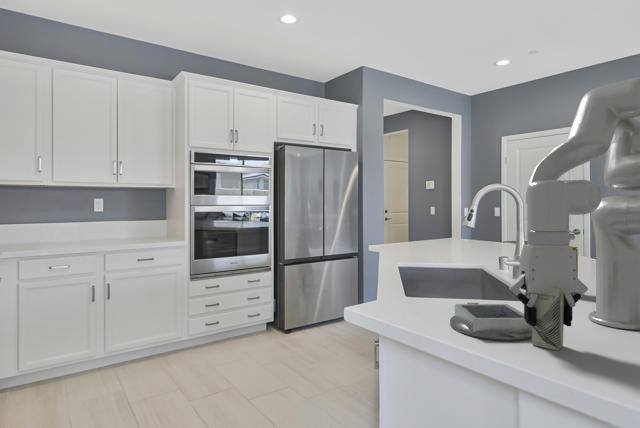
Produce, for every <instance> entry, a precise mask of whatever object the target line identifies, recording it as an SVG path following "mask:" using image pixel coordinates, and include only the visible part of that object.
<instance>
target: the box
mask: <svg viewBox="0 0 640 428" xmlns="http://www.w3.org/2000/svg"><path fill="white" fill-rule="evenodd" d="M534 307H535V308H536V326H532V338H531V344H532V345H533V346H536V347H541V348H544V349H545V348H546V349H549V350H553V351H559V350H560V349H562V347H563V346H564V294H562V288H550V290H549V293H548V294H538V296H537V299H536V301H535V303H534Z"/></svg>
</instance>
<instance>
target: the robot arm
mask: <svg viewBox="0 0 640 428" xmlns="http://www.w3.org/2000/svg"><path fill="white" fill-rule="evenodd" d="M638 117H640V76H638V77H634V78H629V79H626V80H622V81H618V82H614V83H613V82H612V83H608V84H605V85H602V86H598V87H595V88H592V89H591V90H588V91H587V92H586V93H585V94H584V95H583V96H582V98H581V100H580V102H579V105H578V107H577V110H576V112H575V115H574V118H573V121H572V122H571V126H570V129H569V131H568V134H567V137H566V139H565V140H564V141H563V142H561V143H560V144H559V145H557V146H556V147H554V148H553V149H552V150H551V151H550V152H549V153H548V154H547V155H546V156H545V157H544V158H542V160H540V161H539V163H538V164H537V165H536V167H535V168H534V170H533V173H532V174H531V178H530V180H529V182H528V185H527V188H526V192H525V203H526V209H527V210H526V212H527V213H526V222H527V223H526V227H527V228H526V229H527V233H526V234H527V235H526V240H527V244H523V246H522V250H521V253H520V256H519V257H520V258H519V266H518V278H516V279H515V280H514V281H513V282H512V283H511V284H510V285H509V286H508V290H509V291H510V292H511V293H512V294H513V295H514V296H515V297H516V298H517V299H518V301H520V302H521V303H522V304H523V314H524V319H525V320H526V323H528V324H529V325H531V326H536V308H535V307H534V303H535V301H536V299H537V296H538V294H548V293H549V290H550V288H562V294H564V324H563V326H564V325H565V326H566V327H572V321H573V308H574V307H576V304H577V303H578V302H579V301H580V299H581V298H582V296H583V295H584V294H585V293H587V292H588V290H589V287H588V286H586V285H585V284H584V283H583V282H582V281H581V280H580V278H577V271H576V263H575V257H574V253H573V249H572V247H573V246H571V245H570V243H571V241H574V240H575V238H576V236H575V233H571V232H570V216H571V215H573V216H574V215H575V216H576V215H577V216H578V215H583V216H584V215H588V214H590V217H591V222H592V223H591V224H592V227H593V233H594V240H595V310H594V311H591V312H589V313H588V319H589V320H590V321H592V322H594V323H595V324H596V323H597V324H598V325H602V326H607V327H611V328H616V329H623V330H632V331H633V330H634V331H636V330H637V331H640V243H639V242H638V241H637V240H636V239H635V237H634V236H640V194H638V195H637V194H633V195H631V194H627V195H611V196H605V197H603V194H602V190H601V189H600V187H599V185H597V183H595V182H593V181H591V180H587V179H572V180H571V179H570V180H569V179H568V180H564V179H563V180H561V179H560V178H561V176H563V175H564V174H565V173H567V172H569V171H570V170H573V169H574V168H577V167H579V166H582V165H585V164H586V163H589V162H591V161H592V160H595V159H597V158H600V157H601V156H603V155H604V154H605V153H606V155H605V163H604V170H603V171H604V172H603V182H604V186H605V187H606V188H607V189H608V190H610V191H613V192H620V193H621V192H640V121H639V120H637V119H636V118H638ZM559 179H560V180H559ZM520 289H521V290H523V291H524V293H523V292H522V291H521V290H520Z"/></svg>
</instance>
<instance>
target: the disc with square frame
mask: <svg viewBox="0 0 640 428" xmlns="http://www.w3.org/2000/svg"><path fill="white" fill-rule="evenodd" d="M449 326H450V327H451V329H453V330H454V331H456V332H458V333H460V334H463V335H466V336H469V337H473V338H475V339H476V338H477V339H481V340H486V341H496V342H521V341H526V340H530V339H531V340H532V326H531V325H529V324H528V323H526V320H525V319H524V312H522V311H520V310H518V309H516V308H514V307H513V306H511V305H510V304H508V303H490V304H489V303H485V304H484V303H483V304H482V303H479V302H466V303H464V304H463V303H460V304H459V303H458V304H457V303H455V304H454V316H451V317H450V319H449Z"/></svg>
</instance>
